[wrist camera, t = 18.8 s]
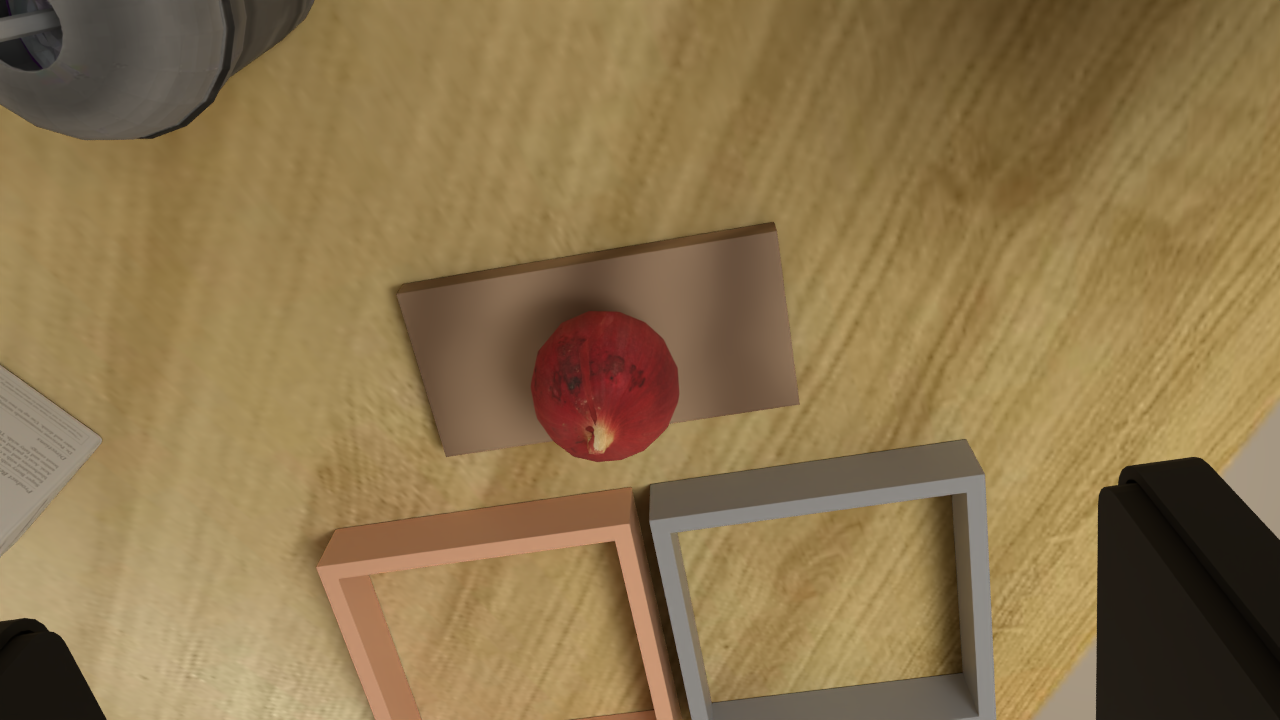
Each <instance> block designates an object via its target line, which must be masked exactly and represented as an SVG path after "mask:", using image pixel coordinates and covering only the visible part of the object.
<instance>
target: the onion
mask: <svg viewBox="0 0 1280 720" xmlns="http://www.w3.org/2000/svg"><path fill="white" fill-rule="evenodd" d="M530 387H531V392H532V397H533V403H534V408H535V413H536V416H537V419H538V421H539V422H540V423H541V425H542V426H543V428H544V429H545V431H546V432H547V434H548V435H549V436H550V438H551V439H552V440H553V441H554V442H555V443H556V444H558V445H559V446H560V447H562V448H563V449H565V450H566V451H567V452H568V453H570V454H571V455H572V456H574V457H578V458H582V459H587V460H591V461H595V462H602V461H614V460H622V459H625V458H627V457H629V456H632V455H634V454H637V453H639V452H641V451H644V450H645V449H646V448H647V447H648V446H649V445H650V444H651V443H652V442H654V441H655V440H656V439H657V438H658V437H659V436H660V435H661V434H662V433H663V432H664V431H665V430H666V428H667V427H668V425H669V423H670V421H671V418H672V416H673V413H674V411H675V408H676V406H677V404H678V400H679V394H680V393H679V379H678V367H677V365H676V363H675V362H674V360H673V357H672V355H671V353H670V351H669V349H668V347H667V345H666V343H665V341H664V339H663V338H662V337H661V336H660V335H659V334H658V333H656V332H655V331H654V330H653V329H652V328H651V327H650V326H649V325H648V324H647V323H645V322H643V321H641V320H638V319H636V318H633V317H631V316H628V315H626V314H623V313H621V312H610V311H588V312H585V313H583V314H581V315H579V316H576V317H574V318H572V319H569V320H567V321H565V322H562V323H561V324H560V325H559V327H558V328H557V329H556V330H555V331H554V333H553V334H552V335H551V336H550V337H549V339H548V340H547V341H546V342H545V343H544V345H543V346H542V347H541V348H540V349H539V351H538V353H537V357H536V362H535V367H534V371H533V376H532V381H531V386H530Z"/></svg>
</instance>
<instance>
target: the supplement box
mask: <svg viewBox="0 0 1280 720" xmlns="http://www.w3.org/2000/svg"><path fill="white" fill-rule="evenodd" d="M101 442H102V439H101V437H100V436H99V435H98V434H96V433H95V432H93V431H92V430H91V429H89V428H88V427H86V426H85V425H83V424H82V423H81V422H79V421H78V420H76V419H75V418H74V417H72V416H71V415H69V414H68V413H67V412H65V411H64V410H62V409H61V408H60V407H58V406H57V405H55V404H54V403H53V402H51V401H50V400H49V399H47V398H46V397H44V396H43V395H42V394H40V393H39V392H37V391H36V390H35V389H33V388H32V387H30V386H29V385H28V384H26V383H25V382H23V381H22V380H21V379H19V378H18V377H16V376H15V375H14V374H12V373H11V372H9V371H8V370H7V369H5V368H4V367H2V366H1V365H0V557H1V556H2V555H3V554H4V553H5V552H6V551H7V550H8V549H9V548H11V547H12V546H13V545H14V544H15V543H16V542H17V541H18V539H19V538H20V537H21V536H22V535H23V534H24V533H25V532H26V530H27V529H28V528H29V527H30V526H31V525H32V523H33V522H34V521H35V520H36V519H37V518H38V516H39V515H40V514H41V513H42V512H43V511H44V509H45V508H46V507H47V506H48V505H49V504H50V502H51V501H52V500H53V499H54V498H55V497H56V495H57V494H58V493H59V492H60V491H61V490H62V488H63V487H64V486H65V485H66V484H67V483H68V482H69V480H70V479H71V478H72V477H73V476H74V475H75V473H76V472H77V471H78V470H79V469H80V468H81V467H82V465H83V464H84V463H85V462H86V461H87V460H88V458H89V457H90V456H91V455H92V454H93V453H94V451H95V450H96V449H97V448H98V447H99V445H100V444H101Z"/></svg>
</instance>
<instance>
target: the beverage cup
mask: <svg viewBox="0 0 1280 720" xmlns="http://www.w3.org/2000/svg"><path fill="white" fill-rule="evenodd" d="M313 3H314V0H0V105H2V106H4V107H5V108H7V109H9V110H10V111H12V112H14V113H15V114H17V115H19V116H20V117H22V118H23V119H25V120H27V121H28V122H30V123H32V124H33V125H35V126H37V127H40V128H44V129H47V130H51V131H54V132H57V133H61V134H64V135H68V136H71V137H75V138H79V139H82V140H125V139H153V138H155V137H158V136H161V135H163V134H166V133H169V132H172V131H174V130H177V129H180V128H182V127H185V126H187V125H188V124H189V123H190V122H192V121H193V120H194V119H195V118H196V117H197V116H198V115H199V114H200V113H202V112H203V111H204V110H205V109H206V108H207V107H208V106H209V105H211V104H212V103H213V102H214V100H215V98H216V96H217V94H218V92H219V91H220V89H221V88H222V87H223V85H224V84H225V83H226V82H227V80H228V79H229V78H230V77H231V76H232V75H234V74H235V73H237V72H238V71H239V70H241V69H242V68H244V67H245V66H246V65H248V64H249V63H251V62H252V61H253V60H255V59H256V58H258V57H259V56H260V55H262V54H263V53H265V52H266V51H267V50H269V49H270V48H272V47H273V46H274V45H276V44H277V43H279V42H280V41H281V40H282V39H284V38H285V37H286V36H287V35H288V34H289V33H290V32H291V31H293V30H294V29H295V28H296V26H298V25H299V24H300V23H301V22H302V21H303V20H304V19H305V18H306V16H307V14H308V12H309V11H310V9H311V7H312V5H313Z"/></svg>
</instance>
